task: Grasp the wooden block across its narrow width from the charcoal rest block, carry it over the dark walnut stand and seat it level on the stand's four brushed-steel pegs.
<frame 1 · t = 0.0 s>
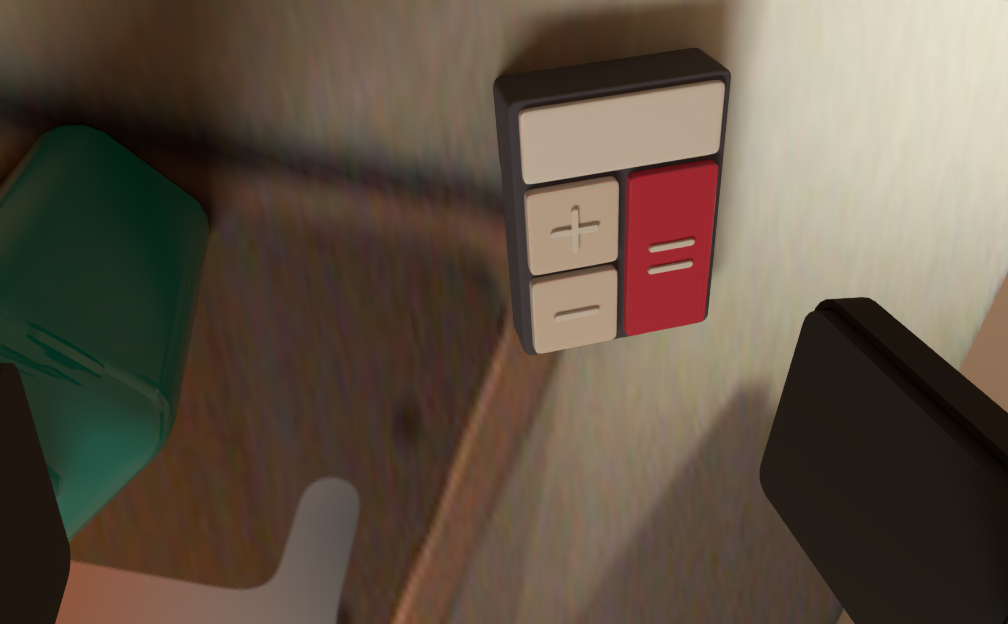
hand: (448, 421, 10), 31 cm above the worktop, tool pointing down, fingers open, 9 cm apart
calculator: (598, 196, 45), on the worktop
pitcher: (86, 214, 39), on the worktop
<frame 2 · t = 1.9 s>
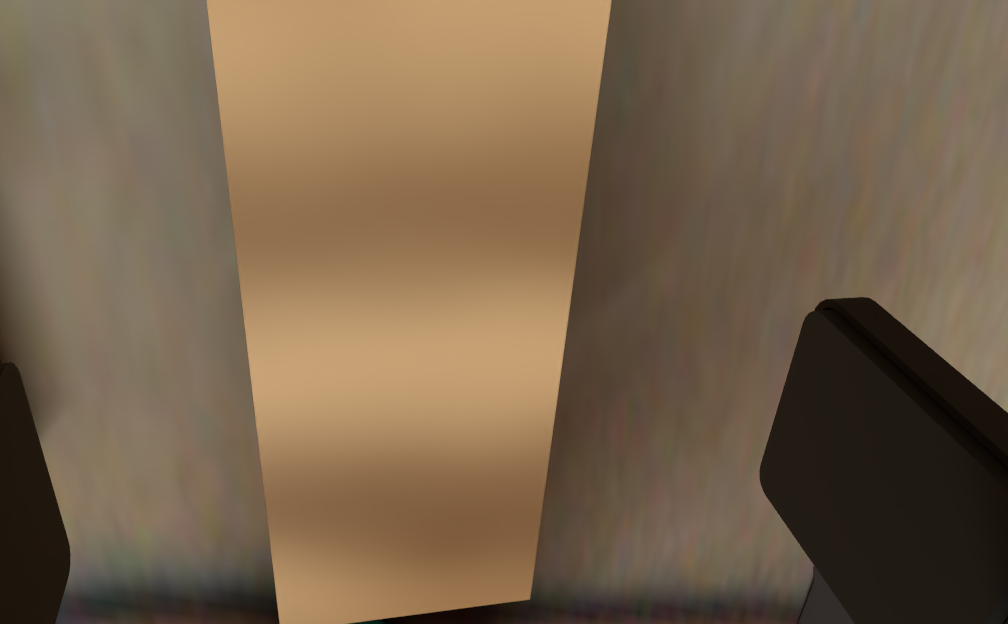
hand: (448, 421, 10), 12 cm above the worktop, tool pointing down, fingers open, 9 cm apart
calculator: (899, 586, 38), on the worktop
wooden block: (397, 133, 16), point 4 cm above the worktop, touching rest block
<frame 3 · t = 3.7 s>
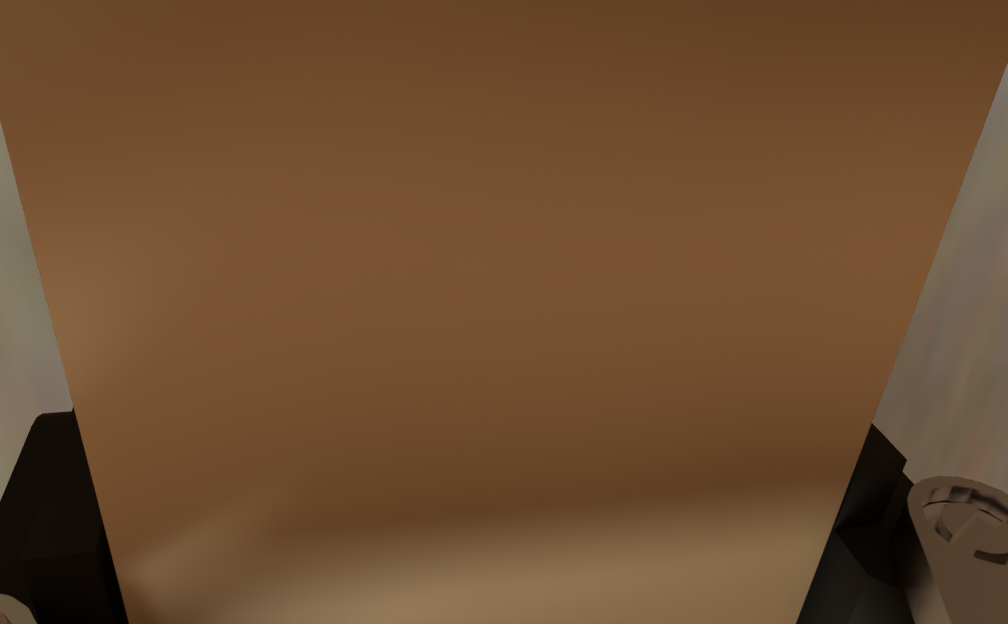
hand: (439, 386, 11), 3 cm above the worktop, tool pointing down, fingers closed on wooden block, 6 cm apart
wooden block: (451, 430, 10), point 4 cm above the worktop, touching gripper, rest block
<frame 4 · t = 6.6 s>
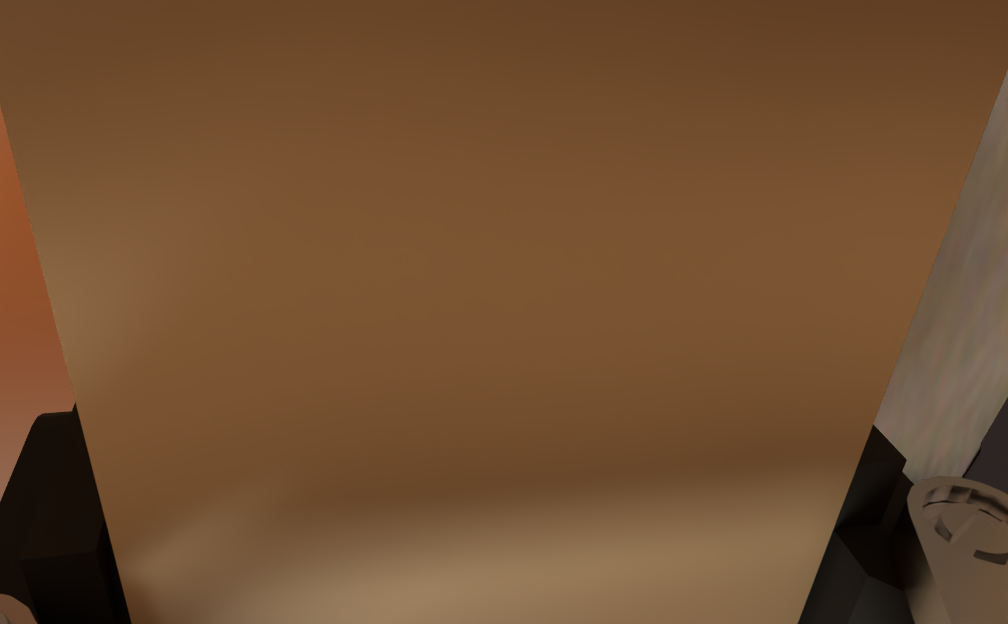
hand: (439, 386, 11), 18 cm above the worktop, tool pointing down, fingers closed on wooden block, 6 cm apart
wooden block: (452, 434, 10), point 19 cm above the worktop, touching gripper
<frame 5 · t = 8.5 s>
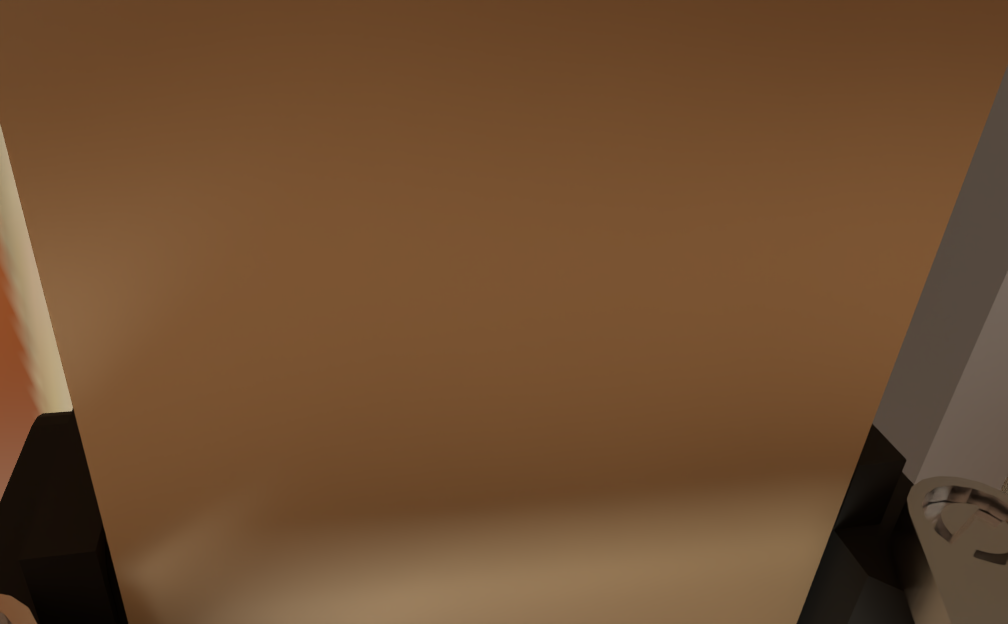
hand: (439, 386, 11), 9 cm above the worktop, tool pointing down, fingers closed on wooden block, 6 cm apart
rest block: (968, 137, 21), on the worktop
wooden block: (451, 435, 10), point 10 cm above the worktop, touching gripper
when the fingers open (8 cm above the worktop, at t = 9.8 s): wooden block stays where it is, resting on peg stand.
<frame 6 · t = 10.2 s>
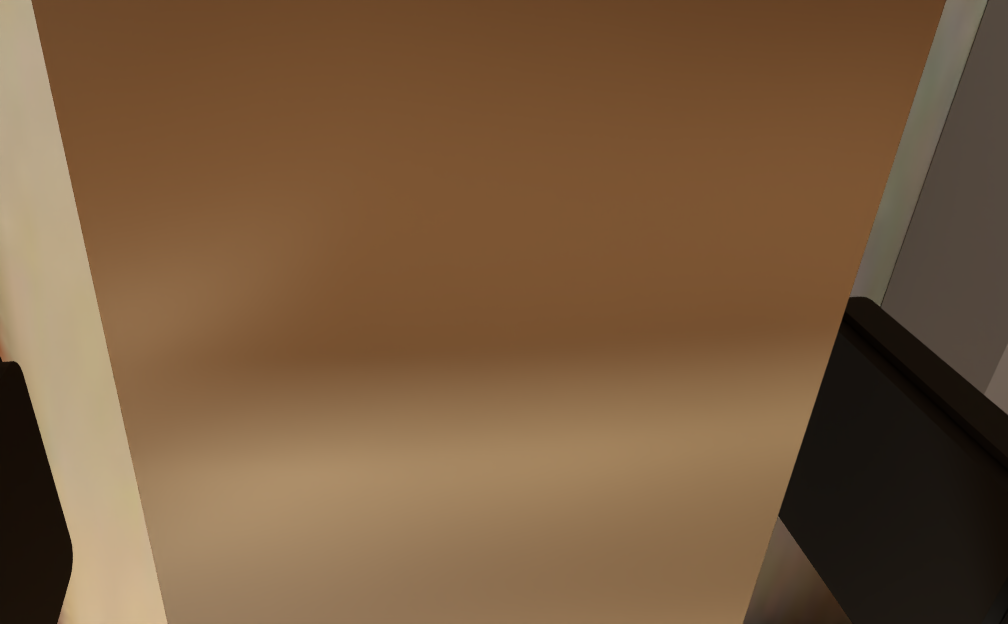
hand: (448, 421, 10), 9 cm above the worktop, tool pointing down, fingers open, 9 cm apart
rest block: (985, 154, 20), on the worktop
wooden block: (444, 391, 10), point 8 cm above the worktop, touching peg stand
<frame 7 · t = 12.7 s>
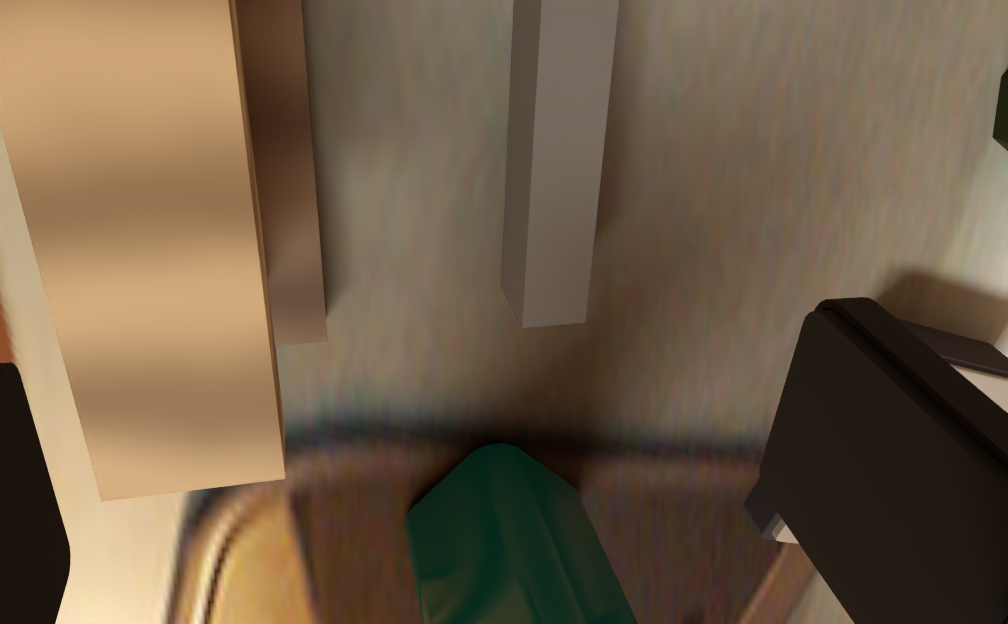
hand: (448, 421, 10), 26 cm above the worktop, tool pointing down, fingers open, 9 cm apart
peg stand: (176, 87, 32), on the worktop
calculator: (859, 423, 52), on the worktop
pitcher: (482, 500, 47), on the worktop
rest block: (543, 80, 35), on the worktop
wooden block: (151, 153, 25), point 8 cm above the worktop, touching peg stand
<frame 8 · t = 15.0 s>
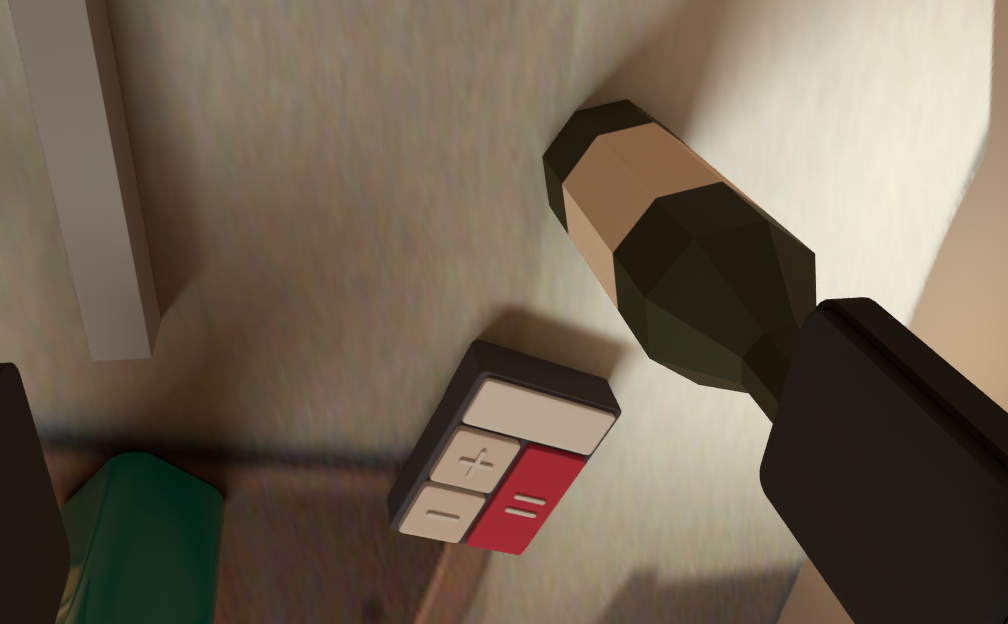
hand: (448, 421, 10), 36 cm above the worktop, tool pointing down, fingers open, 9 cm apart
calculator: (494, 437, 59), on the worktop
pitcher: (136, 499, 55), on the worktop
rest block: (101, 158, 43), on the worktop
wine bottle: (605, 165, 49), on the worktop
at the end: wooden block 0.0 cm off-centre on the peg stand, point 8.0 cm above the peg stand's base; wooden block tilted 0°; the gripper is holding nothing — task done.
